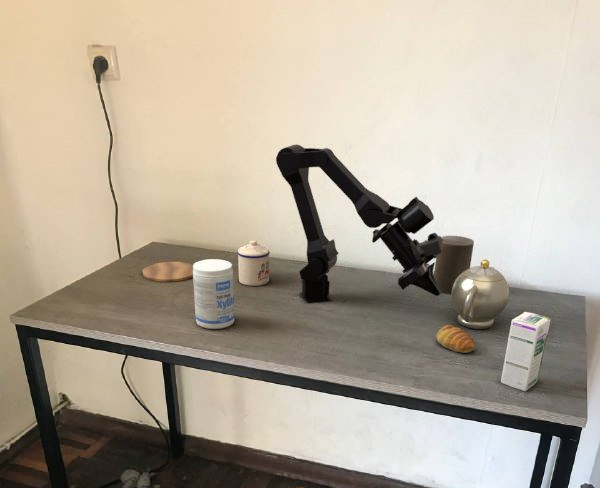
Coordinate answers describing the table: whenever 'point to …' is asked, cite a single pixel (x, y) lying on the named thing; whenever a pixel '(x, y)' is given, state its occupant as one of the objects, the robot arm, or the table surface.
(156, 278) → the wooden trivet
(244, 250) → the teacup with lid
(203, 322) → the supplement tub
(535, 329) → the syrup box
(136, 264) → the table surface
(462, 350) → the pastry
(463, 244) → the pillar candle
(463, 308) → the teapot
